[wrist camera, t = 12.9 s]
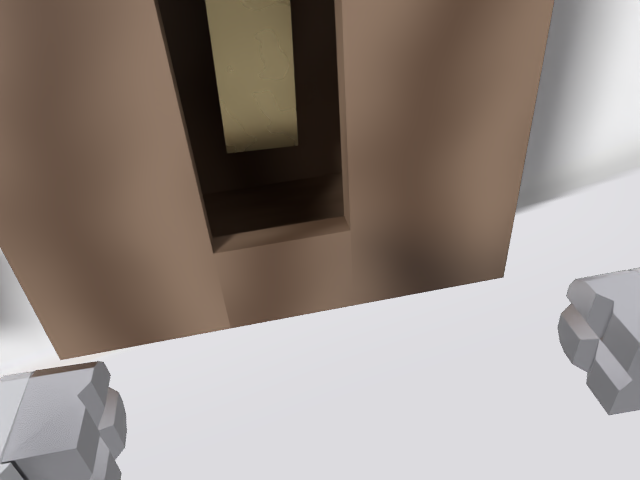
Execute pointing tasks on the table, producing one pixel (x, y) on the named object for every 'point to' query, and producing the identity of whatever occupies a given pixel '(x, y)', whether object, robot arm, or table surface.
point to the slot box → (256, 162)
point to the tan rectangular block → (254, 72)
